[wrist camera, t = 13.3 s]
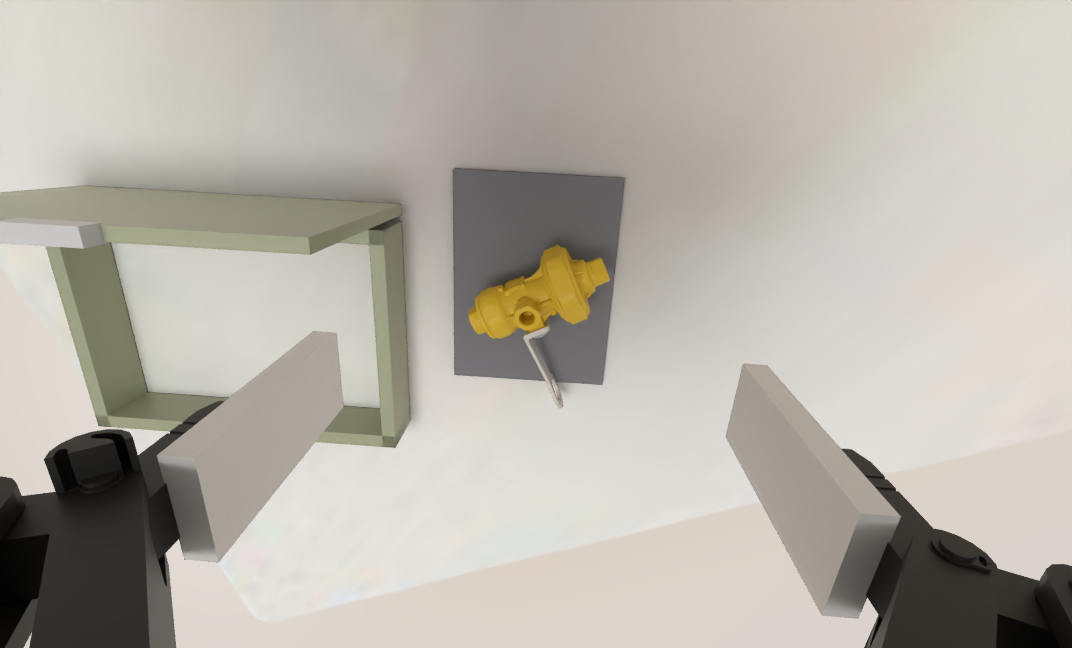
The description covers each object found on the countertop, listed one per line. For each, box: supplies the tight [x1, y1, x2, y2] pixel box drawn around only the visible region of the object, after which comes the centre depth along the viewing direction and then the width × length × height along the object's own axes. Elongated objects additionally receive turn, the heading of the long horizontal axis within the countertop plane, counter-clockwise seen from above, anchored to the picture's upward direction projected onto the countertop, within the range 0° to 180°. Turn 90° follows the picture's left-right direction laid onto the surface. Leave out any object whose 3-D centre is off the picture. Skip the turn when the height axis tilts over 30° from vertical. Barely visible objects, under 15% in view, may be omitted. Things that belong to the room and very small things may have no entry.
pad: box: [453, 168, 625, 385], centre depth 37 cm, size 16×12×1 cm
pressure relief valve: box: [468, 245, 610, 408], centre depth 36 cm, size 6×12×10 cm
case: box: [0, 186, 410, 448], centre depth 32 cm, size 18×24×15 cm
